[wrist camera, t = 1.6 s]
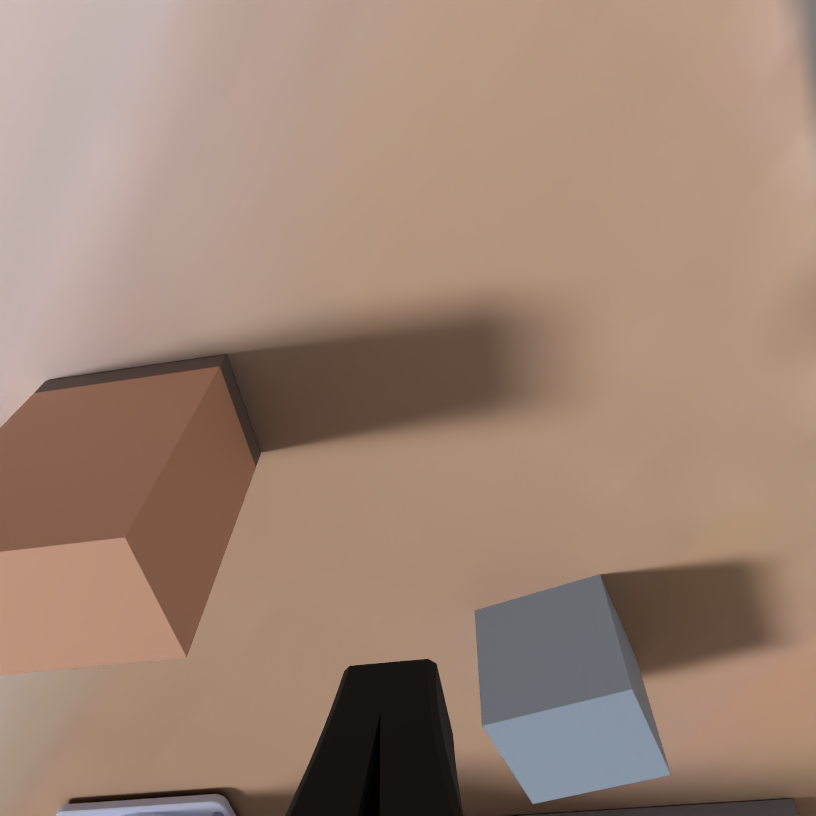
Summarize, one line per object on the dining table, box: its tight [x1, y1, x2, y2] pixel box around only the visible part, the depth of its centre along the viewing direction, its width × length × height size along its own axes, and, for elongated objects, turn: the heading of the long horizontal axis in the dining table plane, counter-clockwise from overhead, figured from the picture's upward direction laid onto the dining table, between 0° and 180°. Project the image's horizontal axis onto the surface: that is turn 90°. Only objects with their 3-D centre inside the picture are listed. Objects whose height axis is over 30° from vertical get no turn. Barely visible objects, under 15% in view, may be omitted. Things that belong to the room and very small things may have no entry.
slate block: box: [475, 574, 671, 804], centre depth 23 cm, size 4×4×4 cm
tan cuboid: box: [0, 355, 261, 675], centre depth 17 cm, size 3×5×7 cm, turn 100°
